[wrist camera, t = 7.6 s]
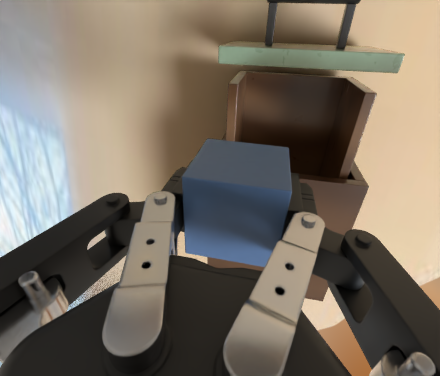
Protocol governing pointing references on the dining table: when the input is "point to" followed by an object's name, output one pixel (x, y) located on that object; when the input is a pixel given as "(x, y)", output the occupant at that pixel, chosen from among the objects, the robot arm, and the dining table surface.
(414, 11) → the dining table surface
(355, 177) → the cabinet
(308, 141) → the drawer
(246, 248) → the block
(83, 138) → the dining table surface
